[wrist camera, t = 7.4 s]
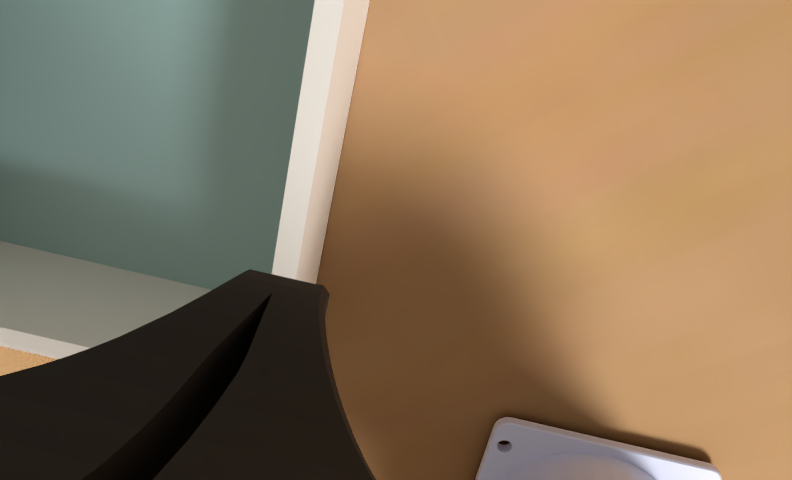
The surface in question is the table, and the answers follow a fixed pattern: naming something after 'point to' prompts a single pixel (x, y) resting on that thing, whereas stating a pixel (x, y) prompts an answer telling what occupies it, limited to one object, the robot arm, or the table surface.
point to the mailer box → (162, 154)
